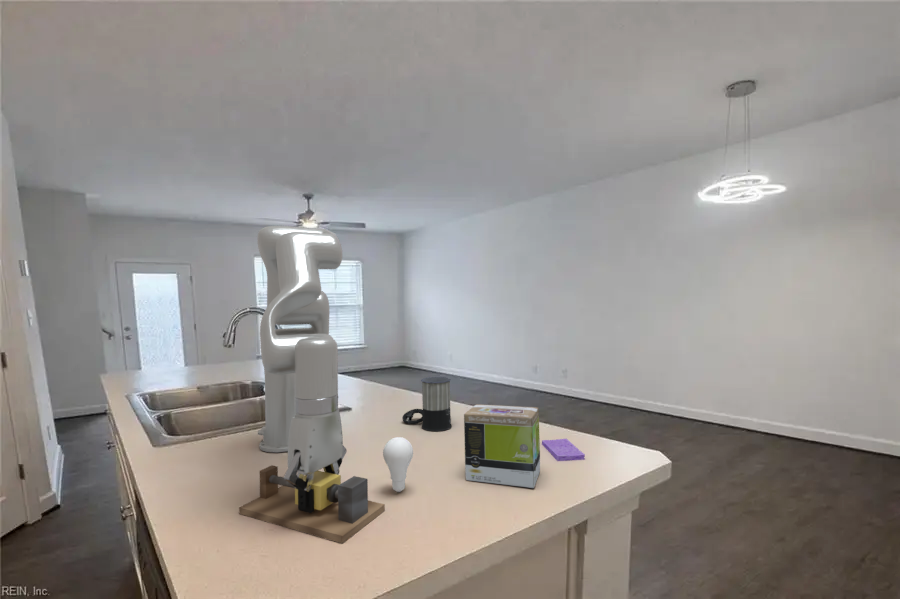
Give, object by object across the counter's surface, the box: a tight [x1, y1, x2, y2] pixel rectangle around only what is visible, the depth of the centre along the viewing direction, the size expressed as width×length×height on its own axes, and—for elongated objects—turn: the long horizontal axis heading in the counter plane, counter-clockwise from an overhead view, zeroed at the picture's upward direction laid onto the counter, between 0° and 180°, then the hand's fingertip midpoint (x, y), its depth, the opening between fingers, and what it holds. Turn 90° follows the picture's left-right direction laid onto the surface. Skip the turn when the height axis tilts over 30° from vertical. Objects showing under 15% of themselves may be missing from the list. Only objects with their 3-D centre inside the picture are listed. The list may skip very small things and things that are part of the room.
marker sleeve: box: [295, 470, 342, 510], centre depth 81 cm, size 6×5×4 cm
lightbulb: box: [382, 436, 414, 493], centre depth 90 cm, size 6×6×11 cm
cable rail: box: [238, 464, 386, 544], centre depth 81 cm, size 24×12×7 cm, turn 65°
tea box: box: [463, 403, 541, 489], centre depth 97 cm, size 15×10×15 cm, turn 71°
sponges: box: [541, 438, 586, 462], centre depth 112 cm, size 7×13×2 cm, turn 6°
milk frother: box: [402, 376, 453, 432], centre depth 137 cm, size 14×16×15 cm
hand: (318, 502), depth 81 cm, fingers closed on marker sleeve, 5 cm apart
